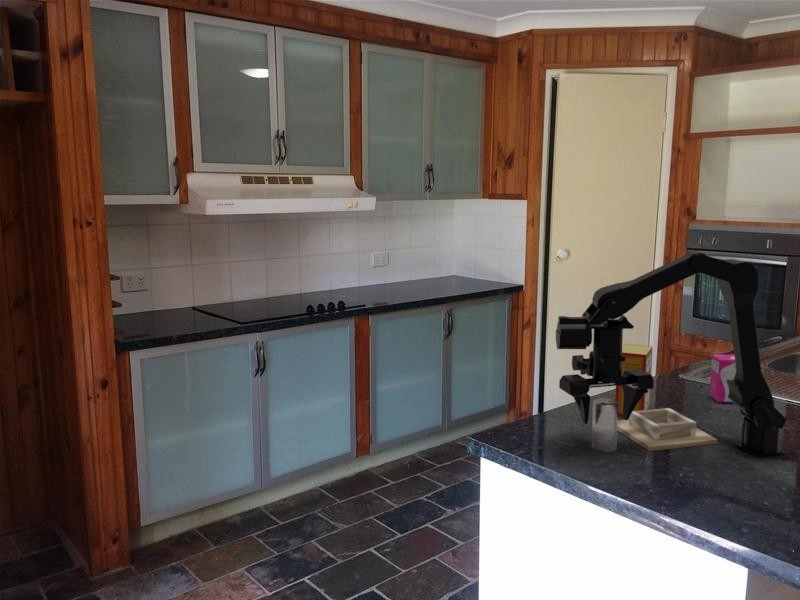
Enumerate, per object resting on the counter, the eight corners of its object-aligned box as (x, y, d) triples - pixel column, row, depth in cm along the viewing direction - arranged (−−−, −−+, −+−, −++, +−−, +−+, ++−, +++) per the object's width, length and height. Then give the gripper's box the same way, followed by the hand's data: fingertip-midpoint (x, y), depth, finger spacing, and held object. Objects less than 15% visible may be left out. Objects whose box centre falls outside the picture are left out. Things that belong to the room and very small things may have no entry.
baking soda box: (622, 404, 167) (624, 342, 165) (649, 407, 164) (652, 345, 162) (614, 415, 159) (617, 350, 157) (643, 419, 156) (646, 353, 153)
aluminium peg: (621, 451, 138) (622, 404, 136) (598, 453, 137) (600, 406, 135) (608, 442, 142) (610, 397, 141) (587, 444, 141) (588, 399, 140)
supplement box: (732, 396, 171) (734, 353, 169) (741, 404, 165) (744, 359, 164) (708, 396, 172) (711, 353, 170) (717, 403, 166) (720, 359, 164)
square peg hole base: (717, 443, 140) (718, 425, 140) (649, 451, 137) (649, 432, 137) (672, 419, 156) (672, 402, 155) (609, 425, 153) (610, 408, 152)
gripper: (627, 337, 146) (625, 405, 148) (548, 343, 142) (547, 413, 145) (657, 349, 135) (654, 422, 137) (572, 355, 131) (570, 430, 134)
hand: (605, 421), depth 139 cm, fingers open, 9 cm apart
